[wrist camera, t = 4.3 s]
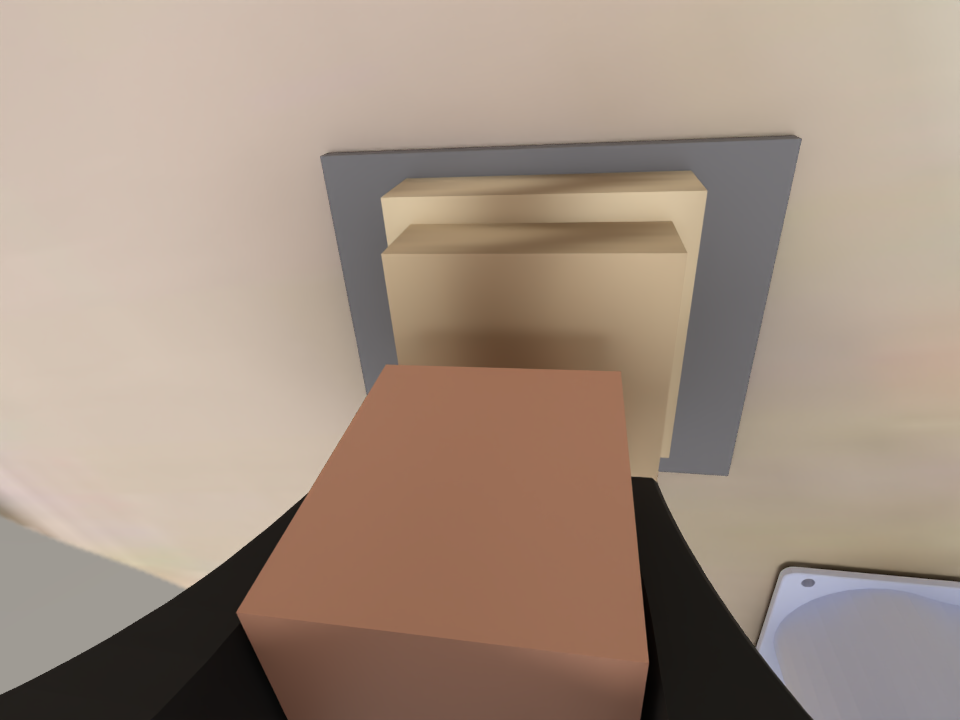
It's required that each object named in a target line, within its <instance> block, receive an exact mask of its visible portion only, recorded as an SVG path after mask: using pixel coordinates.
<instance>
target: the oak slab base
mask: <svg viewBox="0 0 960 720" xmlns="http://www.w3.org/2000/svg"><path fill="white" fill-rule="evenodd" d="M706 198H707V189H706V188H705V187H704V186H703V184H702V183H701V182H700V181H699V180H698V178H697V177H696V176H695V175H694V173H693V172H692V171H655V172H620V173H584V174H548V175H512V176H476V177H440V178H406V179H405V180H404V181H402V182H401V183H400V184H398V185H397V186H396V187H394V188H393V189H392V190H390V191H389V192H388V193H386V194H385V195H384V196H382V197H381V204H382V210H383V217H384V224H385V230H386V237H387V244H388V246H389V245H390V244H391V243H392V242H393V241H394V240H395V239H396V238H397V237H398V236H399V235H400V234H401V233H402V232H403V231H404V230H405V229H406V228H407V227H408V226H409V225H410V224H483V223H565V222H648V221H672V222H673V224H674V226H675V228H676V230H677V232H678V234H679V236H680V238H681V241H682V243H683V245H684V247H685V249H686V251H687V253H688V254H687V261H686V269H685V276H684V284H683V291H682V299H681V306H680V313H679V321H678V328H677V336H676V343H675V351H674V358H673V366H672V373H671V380H670V388H669V395H668V403H667V410H666V418H665V425H664V433H663V440H662V448H661V455H660V457H662V458H669V454H670V447H671V440H672V433H673V426H674V419H675V412H676V406H677V399H678V392H679V385H680V378H681V371H682V364H683V357H684V350H685V343H686V336H687V329H688V323H689V316H690V309H691V302H692V295H693V288H694V281H695V274H696V267H697V260H698V253H699V247H700V240H701V233H702V226H703V219H704V212H705V205H706Z"/></svg>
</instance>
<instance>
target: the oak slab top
mask: <svg viewBox="0 0 960 720" xmlns="http://www.w3.org/2000/svg"><path fill="white" fill-rule="evenodd" d="M687 254H688V253H687V251H686V249H685V247H684V245H683V243H682V241H681V238H680V236H679V234H678V232H677V230H676V228H675V226H674V224H673V222H672V221H648V222H565V223H483V224H410V225H409V226H408V227H407V228H406V229H405V230H404V231H403V232H402V233H401V234H400V235H399V236H398V237H397V238H396V239H395V240H394V241H393V242H392V243H391V244H390V245H389V246H388V247H387V248H386V250H385V251H384V252H383V253H382V254H381V256H382V263H383V269H384V276H385V282H386V288H387V295H388V301H389V308H390V314H391V320H392V327H393V333H394V340H395V346H396V352H397V359H398V365H419V366H453V367H487V368H521V369H555V370H589V371H621V378H622V388H623V399H624V409H625V419H626V430H627V440H628V451H629V461H630V471H631V476H633V477H649V478H653V479H654V480H655V481H656V482H657V477H658V470H659V462H660V455H661V448H662V440H663V433H664V425H665V418H666V410H667V403H668V395H669V388H670V380H671V373H672V366H673V358H674V351H675V343H676V336H677V328H678V321H679V313H680V306H681V299H682V291H683V284H684V276H685V269H686V261H687Z"/></svg>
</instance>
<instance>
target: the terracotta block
mask: <svg viewBox="0 0 960 720" xmlns="http://www.w3.org/2000/svg"><path fill="white" fill-rule="evenodd" d="M236 613H237V616H238V618H239V620H240V622H241V624H242V626H243V628H244V630H245V632H246V634H247V636H248V638H249V640H250V642H251V645H252V647H253V649H254V651H255V653H256V655H257V657H258V659H259V661H260V663H261V665H262V667H263V669H264V671H265V674H266V676H267V678H268V680H269V682H270V684H271V686H272V688H273V690H274V692H275V694H276V696H277V698H278V700H279V702H280V705H281V707H282V709H283V711H284V713H285V715H286V717H287V719H288V720H640V718H641V711H642V705H643V698H644V692H645V685H646V679H647V673H648V666H649V658H648V648H647V638H646V627H645V617H644V606H643V596H642V586H641V575H640V565H639V554H638V544H637V534H636V523H635V513H634V502H633V492H632V482H631V471H630V461H629V451H628V440H627V430H626V419H625V409H624V399H623V388H622V378H621V371H589V370H555V369H521V368H487V367H453V366H419V365H385V367H384V368H383V370H382V372H381V373H380V375H379V377H378V378H377V380H376V382H375V383H374V385H373V387H372V388H371V390H370V392H369V393H368V395H367V397H366V398H365V400H364V402H363V403H362V405H361V407H360V408H359V410H358V412H357V413H356V415H355V416H354V418H353V420H352V421H351V423H350V425H349V426H348V428H347V430H346V431H345V433H344V435H343V436H342V438H341V440H340V441H339V443H338V445H337V446H336V448H335V450H334V451H333V453H332V455H331V456H330V458H329V460H328V461H327V463H326V464H325V466H324V468H323V469H322V471H321V473H320V474H319V476H318V478H317V479H316V481H315V483H314V484H313V486H312V488H311V489H310V491H309V493H308V494H307V496H306V498H305V499H304V501H303V503H302V504H301V506H300V508H299V509H298V511H297V512H296V514H295V516H294V517H293V519H292V521H291V522H290V524H289V526H288V527H287V529H286V531H285V532H284V534H283V536H282V537H281V539H280V541H279V542H278V544H277V546H276V547H275V549H274V551H273V552H272V554H271V556H270V557H269V559H268V560H267V562H266V564H265V565H264V567H263V569H262V570H261V572H260V574H259V575H258V577H257V579H256V580H255V582H254V584H253V585H252V587H251V589H250V590H249V592H248V594H247V595H246V597H245V599H244V600H243V602H242V604H241V605H240V607H239V608H238V610H237V612H236Z"/></svg>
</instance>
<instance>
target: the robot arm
mask: <svg viewBox="0 0 960 720" xmlns="http://www.w3.org/2000/svg"><path fill="white" fill-rule="evenodd" d="M631 482H632V492H633V502H634V513H635V523H636V534H637V544H638V554H639V565H640V575H641V586H642V596H643V606H644V617H645V627H646V638H647V648H648V658H649V666H648V673H647V679H646V685H645V692H644V698H643V705H642V711H641V718H640V720H960V582H956V581H945V580H934V579H923V578H912V577H902V576H891V575H880V574H869V573H858V572H847V571H837V570H826V569H815V568H804V567H787V568H785V569H783V570H782V571H781V572H780V574H779V577H778V580H777V584H776V587H775V590H774V593H773V596H772V599H771V602H770V606H769V609H768V612H767V615H766V618H765V621H764V624H763V628H762V631H761V634H760V637H759V640H758V643H757V646H756V648H755V647H754V645H753V644H752V642H751V641H750V640H749V638H748V637H747V636H746V634H745V633H744V631H743V630H742V629H741V627H740V626H739V624H738V623H737V622H736V620H735V619H734V617H733V616H732V614H731V613H730V611H729V610H728V608H727V607H726V605H725V604H724V603H723V601H722V600H721V598H720V597H719V595H718V594H717V592H716V590H715V589H714V587H713V586H712V584H711V583H710V581H709V580H708V578H707V576H706V575H705V573H704V571H703V570H702V568H701V566H700V565H699V563H698V561H697V560H696V558H695V556H694V555H693V553H692V551H691V550H690V548H689V546H688V544H687V543H686V541H685V539H684V537H683V535H682V534H681V532H680V530H679V528H678V526H677V524H676V522H675V520H674V518H673V516H672V514H671V512H670V510H669V508H668V506H667V504H666V502H665V500H664V498H663V495H662V493H661V491H660V488H659V486H658V483H657V482H656V481H655V480H654V479H653V478H649V477H633V476H631ZM307 494H308V493H307ZM307 494H306V495H305V496H304V497H303V498H302V499H301V500H300V501H298V502H297V503H296V504H295V505H294V506H293V507H291V508H290V509H289V510H288V511H287V512H286V513H285V514H283V515H282V516H281V517H280V518H279V519H278V520H276V521H275V522H274V523H273V524H272V525H271V526H269V527H268V528H267V529H266V530H264V531H263V532H262V533H261V534H259V535H258V536H257V537H256V538H254V539H253V540H252V541H251V542H249V543H248V544H247V545H246V546H244V547H243V548H242V549H241V550H239V551H238V552H237V553H236V554H234V555H233V556H232V557H231V558H229V559H228V560H227V561H226V562H224V563H223V564H222V565H220V566H219V567H218V568H216V569H215V570H213V571H212V572H211V573H209V574H208V575H206V576H205V577H204V578H202V579H201V580H199V581H198V582H197V583H195V584H194V585H192V586H191V587H189V588H188V589H186V590H185V591H183V592H182V593H181V594H179V595H178V596H176V597H175V598H174V599H172V600H170V601H169V602H167V603H166V604H164V605H162V606H161V607H159V608H158V609H156V610H154V611H153V612H151V613H149V614H148V615H146V616H144V617H143V618H141V619H139V620H138V621H136V622H135V623H133V624H132V625H130V626H128V627H126V628H125V629H123V630H121V631H120V632H119V633H117V634H115V635H113V636H112V637H110V638H108V639H107V640H105V641H103V642H101V643H99V644H98V645H96V646H94V647H92V648H91V649H89V650H87V651H85V652H83V653H81V654H80V655H78V656H76V657H74V658H72V659H70V660H69V661H67V662H65V663H63V664H61V665H59V666H57V667H55V668H54V669H51V670H50V671H48V672H46V673H44V674H42V675H40V676H38V677H36V678H34V679H32V680H30V681H28V682H26V683H24V684H22V685H20V686H18V687H16V688H14V689H12V690H10V691H8V692H5V693H3V694H1V695H0V720H288V719H287V717H286V715H285V713H284V711H283V709H282V707H281V705H280V702H279V700H278V698H277V696H276V694H275V692H274V690H273V688H272V686H271V684H270V682H269V680H268V678H267V676H266V674H265V671H264V669H263V667H262V665H261V663H260V661H259V659H258V657H257V655H256V653H255V651H254V649H253V647H252V645H251V642H250V640H249V638H248V636H247V634H246V632H245V630H244V628H243V626H242V624H241V622H240V620H239V618H238V616H237V613H236V612H237V610H238V608H239V607H240V605H241V604H242V602H243V600H244V599H245V597H246V595H247V594H248V592H249V590H250V589H251V587H252V585H253V584H254V582H255V580H256V579H257V577H258V575H259V574H260V572H261V570H262V569H263V567H264V565H265V564H266V562H267V560H268V559H269V557H270V556H271V554H272V552H273V551H274V549H275V547H276V546H277V544H278V542H279V541H280V539H281V537H282V536H283V534H284V532H285V531H286V529H287V527H288V526H289V524H290V522H291V521H292V519H293V517H294V516H295V514H296V512H297V511H298V509H299V508H300V506H301V504H302V503H303V501H304V499H305V498H306V496H307Z"/></svg>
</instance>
